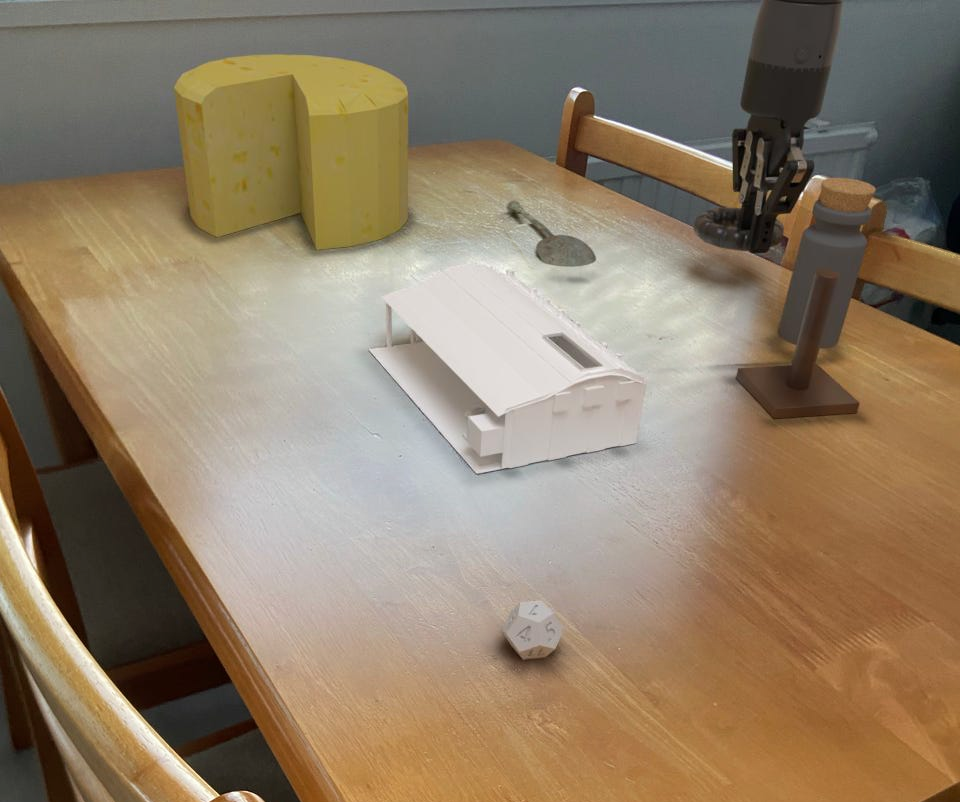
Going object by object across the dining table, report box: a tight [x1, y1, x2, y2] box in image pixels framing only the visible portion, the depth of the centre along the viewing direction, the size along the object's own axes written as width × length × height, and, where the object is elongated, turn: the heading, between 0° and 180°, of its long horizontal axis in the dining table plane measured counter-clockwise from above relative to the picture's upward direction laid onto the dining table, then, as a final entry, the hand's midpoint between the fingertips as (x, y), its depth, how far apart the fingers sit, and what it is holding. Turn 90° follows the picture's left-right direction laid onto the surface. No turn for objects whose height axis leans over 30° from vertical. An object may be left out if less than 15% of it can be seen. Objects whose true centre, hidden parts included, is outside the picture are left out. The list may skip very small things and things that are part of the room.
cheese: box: [173, 53, 409, 251], centre depth 118 cm, size 26×26×15 cm
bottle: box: [777, 177, 876, 350], centre depth 95 cm, size 6×6×15 cm
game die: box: [501, 599, 564, 661], centre depth 61 cm, size 4×4×3 cm
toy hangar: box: [368, 261, 647, 475], centre depth 86 cm, size 25×15×7 cm, turn 25°
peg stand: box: [735, 269, 860, 419], centre depth 87 cm, size 8×8×11 cm
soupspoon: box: [506, 199, 597, 268], centre depth 118 cm, size 22×3×7 cm
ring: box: [692, 206, 785, 252], centre depth 106 cm, size 9×9×2 cm
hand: (751, 246), depth 104 cm, fingers closed on ring, 2 cm apart
